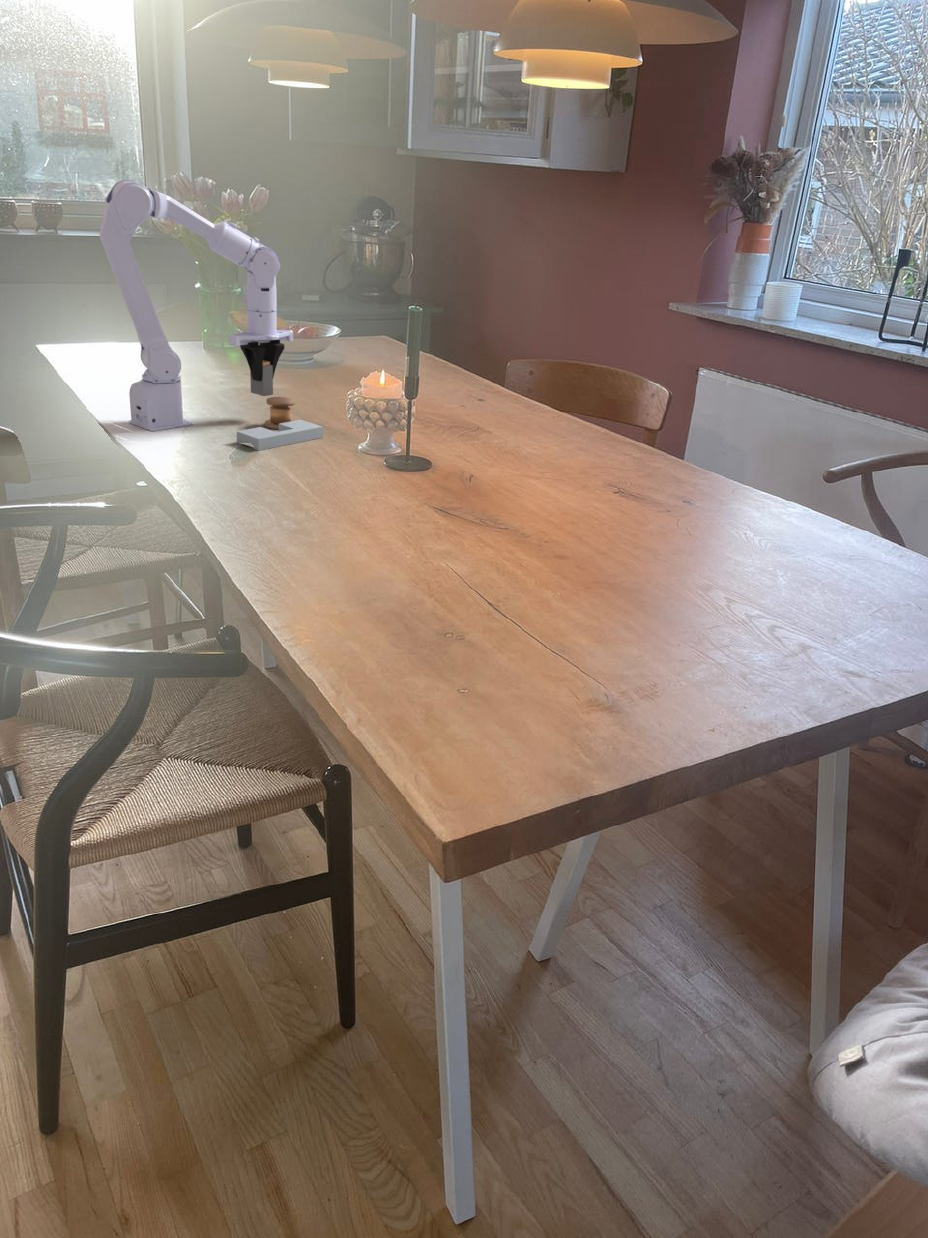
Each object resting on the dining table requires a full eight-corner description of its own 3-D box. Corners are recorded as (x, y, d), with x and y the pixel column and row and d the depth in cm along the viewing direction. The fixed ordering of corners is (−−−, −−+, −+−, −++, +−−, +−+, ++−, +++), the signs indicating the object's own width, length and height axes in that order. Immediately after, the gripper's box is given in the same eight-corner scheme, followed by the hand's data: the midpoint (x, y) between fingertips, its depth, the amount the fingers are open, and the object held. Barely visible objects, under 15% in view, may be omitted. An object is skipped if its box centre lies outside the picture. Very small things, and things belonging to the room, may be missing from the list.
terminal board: (258, 450, 176) (258, 439, 175) (236, 442, 180) (236, 431, 179) (322, 437, 188) (322, 426, 187) (300, 430, 191) (300, 419, 190)
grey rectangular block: (263, 396, 192) (262, 363, 189) (250, 392, 195) (250, 359, 192) (273, 394, 194) (272, 361, 191) (260, 390, 196) (259, 358, 193)
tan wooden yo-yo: (278, 431, 189) (278, 405, 187) (258, 424, 193) (257, 398, 191) (303, 426, 194) (303, 401, 192) (282, 419, 197) (282, 395, 195)
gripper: (245, 315, 180) (246, 387, 185) (303, 311, 190) (302, 379, 196) (222, 309, 183) (224, 380, 189) (280, 305, 194) (280, 372, 200)
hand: (262, 379), depth 193 cm, fingers closed on grey rectangular block, 2 cm apart
